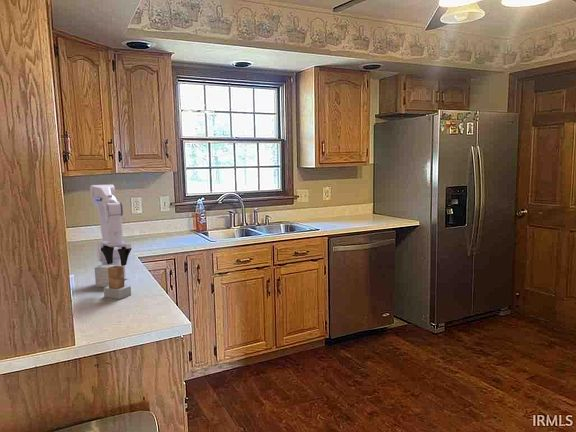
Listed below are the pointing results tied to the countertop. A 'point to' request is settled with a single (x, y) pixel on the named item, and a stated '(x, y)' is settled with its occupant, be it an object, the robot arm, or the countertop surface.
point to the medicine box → (102, 275)
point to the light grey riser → (117, 292)
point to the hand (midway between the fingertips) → (116, 264)
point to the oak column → (116, 277)
